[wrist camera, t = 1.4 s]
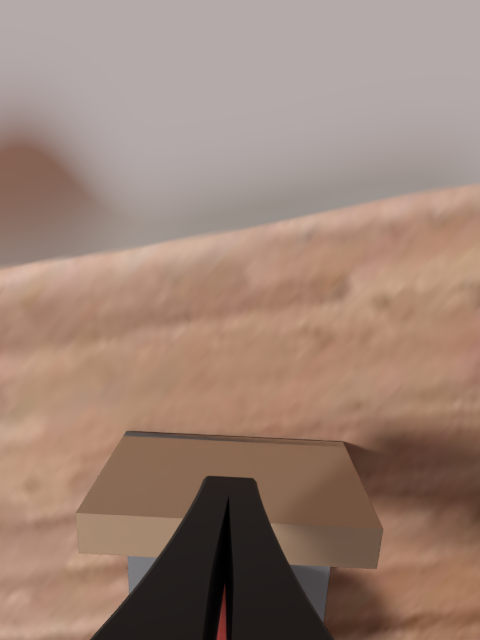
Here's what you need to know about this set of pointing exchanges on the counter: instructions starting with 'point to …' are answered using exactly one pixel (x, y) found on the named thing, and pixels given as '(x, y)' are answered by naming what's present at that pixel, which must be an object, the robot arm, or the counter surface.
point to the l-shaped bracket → (233, 461)
